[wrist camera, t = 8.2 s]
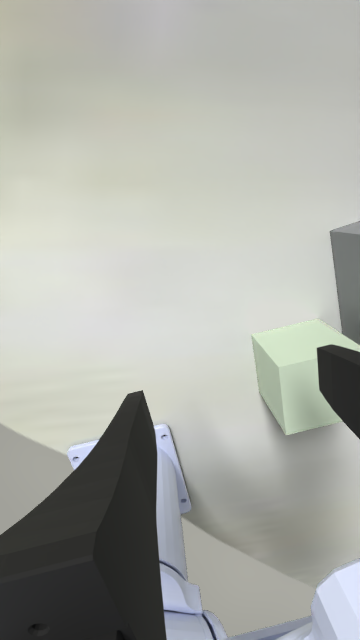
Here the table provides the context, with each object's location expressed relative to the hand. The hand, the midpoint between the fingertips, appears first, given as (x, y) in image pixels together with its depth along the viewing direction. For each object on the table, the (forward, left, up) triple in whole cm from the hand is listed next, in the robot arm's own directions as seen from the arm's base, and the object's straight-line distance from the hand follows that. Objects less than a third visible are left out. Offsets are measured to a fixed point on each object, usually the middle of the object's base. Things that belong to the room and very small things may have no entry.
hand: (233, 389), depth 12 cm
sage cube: (-5, -6, -10) cm, 12 cm away
